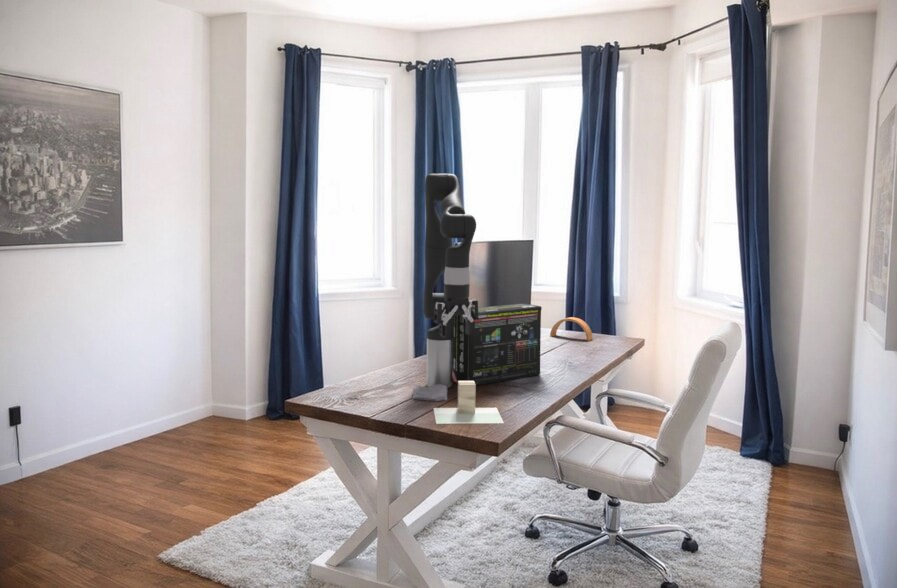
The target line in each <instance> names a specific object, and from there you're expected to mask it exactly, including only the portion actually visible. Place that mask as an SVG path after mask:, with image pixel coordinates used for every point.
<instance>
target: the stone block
mask: <svg viewBox="0 0 897 588" xmlns="http://www.w3.org/2000/svg"><path fill="white" fill-rule="evenodd" d="M412 399H413V400H419V401H431V402H433V401H435V402H439V401H440V402H442V401H447V400H448V388H447V387H446V386H445V385H432V386H429V387H427V386H422V385H415V386H414V387H413V388H412Z"/></svg>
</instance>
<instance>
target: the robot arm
mask: <svg viewBox="0 0 897 588" xmlns="http://www.w3.org/2000/svg"><path fill="white" fill-rule="evenodd" d="M461 196H462V194H461V189H460V182H459V178H458V177H457V175H456V174H453V173H428V174H427V175H426V177H425V180H424V202H425V234H424V235H425V237H424V287H423V288H424V289H423V298H422V313H423V317H424V318H425V319H427V320H433V323H436V324H439V325H436V326H434V327H431V328H429V329H428V330H427V331H426V376H425V377H426V378H425V379H426V382H425V383H426V386H425V387H427V386H428V387H429V386H432V385H445V386H446V387H447V389H448V387H449V388H451V387H452V386H453V381H452V363H453V316H458V315H459V316H463V317H464V318H465V320H466V322H465V333H466V334H468V335H470V334H471V332H472V323H473V321H474V320H477V319H478V308H479V301H478V300H476V299H473V298H472V299H470V300H469V298H470V278H471V277H470V274H471V273H470V254H471V253H470V252H471V247H472V243H473V239H474V236H475V233H476V231H477V230H476V229H477V222H476V219H475V217H474V216H473V215H472V214H466V211H465V209H464V205H463V204H462V197H461ZM440 202H441V203H440ZM436 203H440V206H439V209H440V210H439V211H440V215H441V218H440V215H439V214H438V212H437V208H436ZM453 239H462V241H461V242H460V243H458V244H457V245H453ZM443 272H444V275H443V276H444V278H443V279H444V280H443V283H444V284H443V292H434V289H435V286H436V284H437V283H438V280H439V279H440V277H441V275H442V274H443ZM469 308H471V314H470V313H469V311H468V310H467V309H469Z"/></svg>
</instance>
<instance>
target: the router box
mask: <svg viewBox="0 0 897 588" xmlns="http://www.w3.org/2000/svg"><path fill="white" fill-rule="evenodd" d="M542 308H543V307H542V306H540V305H535V304H529V303H524V302H523V303H522V302H521V303H513V304H512V303H511V304H503V305H501V304H500V305H493V306H481V307H479V306H478V319H477V320H474V321H473V323H472V332H471V334H470V335H468V334H466V333H465V322H466V320H465V318H464V317H463V316H459V315H458V316H453V363H452V382H453V381H454V383H455V382H456V384H458V381H474V382H475V384H476V385H477V386H482V384H483V385H487V384H488V383H489V384H494V382H495V383H501V382H505V381H511V380H516V379H523V378H528V377H534V376H540V375H541V334H542V333H541V331H542V330H541V329H542V323H541V322H542ZM467 310H468V311H469V313H470V314H471V307H468V308H467Z"/></svg>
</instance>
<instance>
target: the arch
mask: <svg viewBox="0 0 897 588" xmlns="http://www.w3.org/2000/svg"><path fill="white" fill-rule="evenodd" d="M567 321H569V322H573V323H576V324H578V325H579V326H580V327H581V328H582V330H583V331H584V333H585V336H586V341H587V342H590V341H592V340H593V332H592V329H591V328H590V326H589V325H588V324H587V322H585V321H584V320H583V319H581V318H578V317H574V316H571V317H566V318H563V319H560V320H558V321H557V322H556V323H555V324H554V325H553V326H552V328H551V330H550V335H549V337H550V338H551V337H552V338H553V337H555V336H557V332H558V328H559V327H560V325H562V324H563V323H564V322H567Z"/></svg>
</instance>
